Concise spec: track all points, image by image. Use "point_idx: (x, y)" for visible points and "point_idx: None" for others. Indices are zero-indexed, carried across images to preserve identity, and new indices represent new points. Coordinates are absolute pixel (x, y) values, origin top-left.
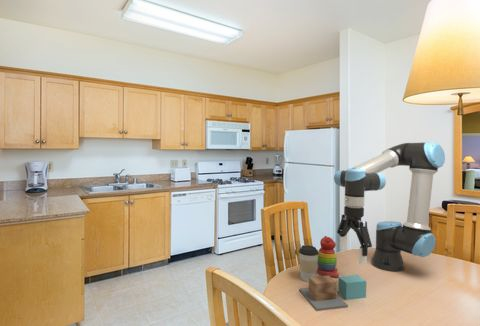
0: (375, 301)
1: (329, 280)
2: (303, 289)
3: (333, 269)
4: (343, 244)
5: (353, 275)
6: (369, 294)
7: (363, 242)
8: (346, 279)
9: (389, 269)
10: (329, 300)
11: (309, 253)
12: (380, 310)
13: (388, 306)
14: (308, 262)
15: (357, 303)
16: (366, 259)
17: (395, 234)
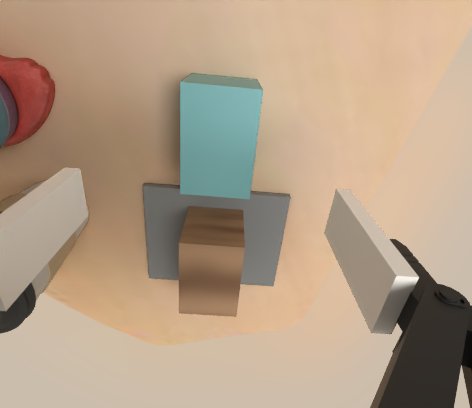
0: (296, 60)
1: (225, 265)
2: (156, 269)
3: (4, 88)
4: (50, 230)
5: (182, 111)
6: (238, 38)
7: (469, 401)
8: (216, 177)
9: None
10: (245, 234)
11: (24, 313)
12: (355, 96)
13: (350, 34)
14: (52, 278)
15: (281, 146)
16: (361, 206)
17: None
